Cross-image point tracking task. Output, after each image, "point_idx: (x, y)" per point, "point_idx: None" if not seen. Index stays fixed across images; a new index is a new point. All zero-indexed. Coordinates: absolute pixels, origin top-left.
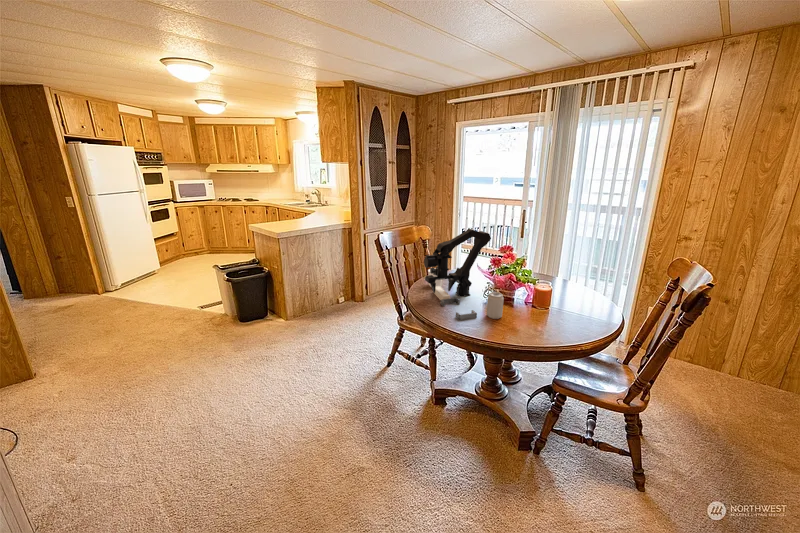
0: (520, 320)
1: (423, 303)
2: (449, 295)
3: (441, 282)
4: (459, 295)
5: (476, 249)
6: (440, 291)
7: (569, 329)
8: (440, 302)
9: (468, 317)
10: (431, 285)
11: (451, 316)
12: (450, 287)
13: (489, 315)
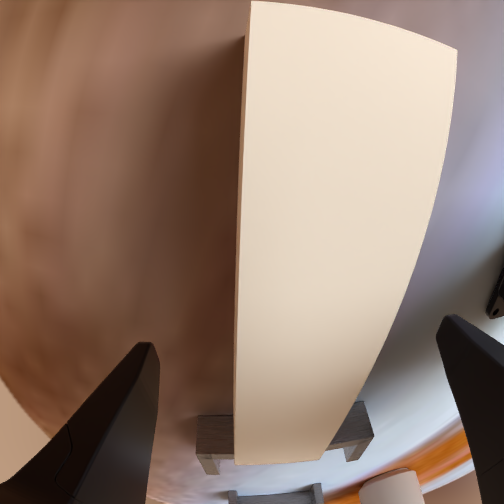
0: (424, 474)
1: (45, 369)
2: (318, 457)
3: None
4: (494, 296)
5: None
6: (280, 375)
7: (455, 474)
8: (197, 429)
9: (276, 502)
10: (48, 466)
11: (212, 486)
12: (462, 416)
13: (359, 496)
